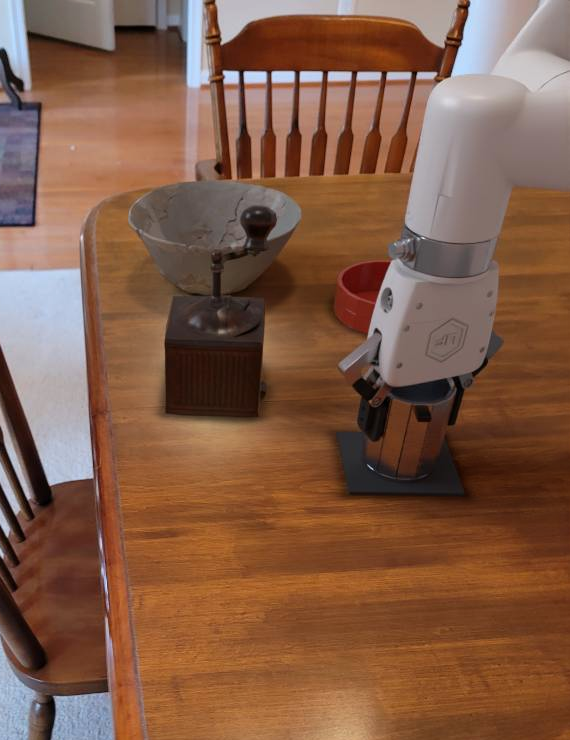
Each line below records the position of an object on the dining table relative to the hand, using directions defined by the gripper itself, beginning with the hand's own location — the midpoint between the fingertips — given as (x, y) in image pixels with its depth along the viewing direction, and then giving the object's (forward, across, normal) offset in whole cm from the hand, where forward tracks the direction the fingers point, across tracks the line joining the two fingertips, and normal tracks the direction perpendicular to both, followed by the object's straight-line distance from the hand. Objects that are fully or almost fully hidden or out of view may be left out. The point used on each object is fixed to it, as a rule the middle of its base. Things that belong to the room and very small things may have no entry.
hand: (406, 424), depth 80 cm
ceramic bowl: (+5, -3, +45) cm, 45 cm away
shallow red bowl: (+5, +15, +29) cm, 33 cm away
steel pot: (+4, 0, 0) cm, 4 cm away
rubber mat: (+5, 0, 0) cm, 5 cm away
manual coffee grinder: (+5, -11, +21) cm, 24 cm away
